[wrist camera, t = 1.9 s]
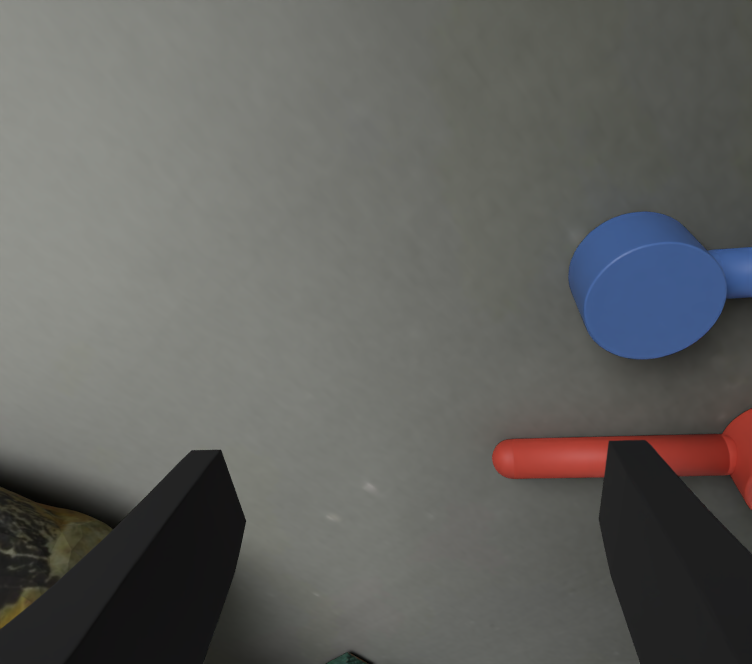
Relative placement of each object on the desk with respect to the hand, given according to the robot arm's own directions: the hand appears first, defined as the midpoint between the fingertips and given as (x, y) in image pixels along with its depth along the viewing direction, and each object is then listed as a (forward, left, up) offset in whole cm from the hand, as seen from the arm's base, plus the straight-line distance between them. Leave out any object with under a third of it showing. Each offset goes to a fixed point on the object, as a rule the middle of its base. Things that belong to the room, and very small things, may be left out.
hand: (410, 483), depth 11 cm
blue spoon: (0, -10, -8) cm, 13 cm away
